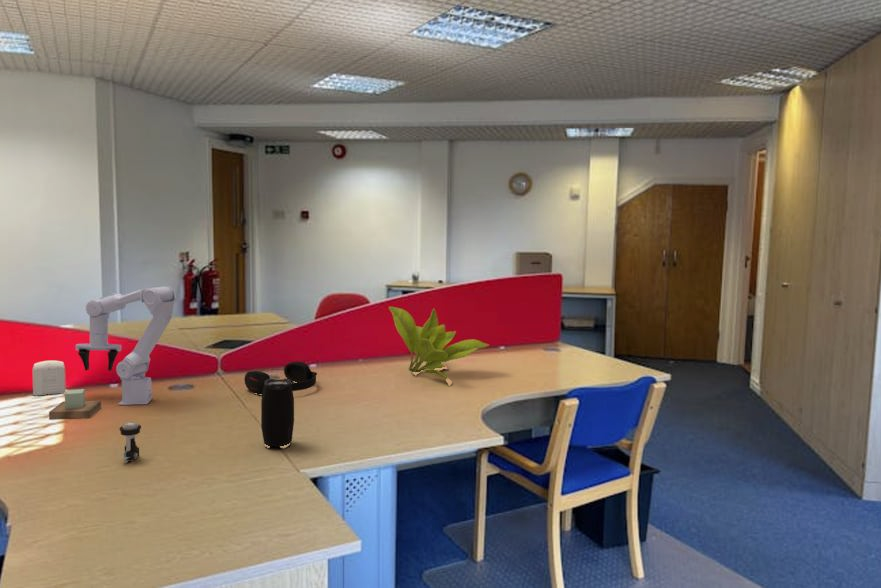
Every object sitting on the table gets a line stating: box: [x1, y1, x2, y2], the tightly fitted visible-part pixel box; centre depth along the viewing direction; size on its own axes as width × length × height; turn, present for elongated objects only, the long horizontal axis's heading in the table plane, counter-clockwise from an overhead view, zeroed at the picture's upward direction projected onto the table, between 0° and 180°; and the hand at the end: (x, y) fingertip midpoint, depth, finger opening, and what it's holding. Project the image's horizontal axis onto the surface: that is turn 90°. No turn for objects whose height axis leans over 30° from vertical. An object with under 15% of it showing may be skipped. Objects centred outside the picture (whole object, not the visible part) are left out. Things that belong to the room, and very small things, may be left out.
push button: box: [119, 421, 142, 464], centre depth 177 cm, size 7×5×10 cm
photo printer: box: [32, 359, 66, 397], centre depth 238 cm, size 10×4×12 cm, turn 123°
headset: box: [244, 361, 318, 394], centre depth 256 cm, size 28×26×9 cm
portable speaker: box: [260, 378, 295, 446], centre depth 192 cm, size 9×9×20 cm
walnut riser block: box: [48, 400, 102, 420], centre depth 217 cm, size 12×12×3 cm
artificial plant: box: [388, 306, 490, 381], centre depth 282 cm, size 42×43×30 cm
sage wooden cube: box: [64, 388, 86, 409], centre depth 216 cm, size 5×5×5 cm
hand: (98, 370), depth 234 cm, fingers open, 7 cm apart
